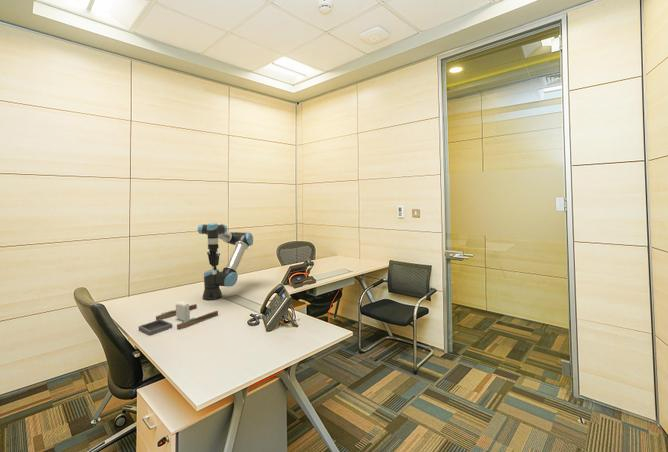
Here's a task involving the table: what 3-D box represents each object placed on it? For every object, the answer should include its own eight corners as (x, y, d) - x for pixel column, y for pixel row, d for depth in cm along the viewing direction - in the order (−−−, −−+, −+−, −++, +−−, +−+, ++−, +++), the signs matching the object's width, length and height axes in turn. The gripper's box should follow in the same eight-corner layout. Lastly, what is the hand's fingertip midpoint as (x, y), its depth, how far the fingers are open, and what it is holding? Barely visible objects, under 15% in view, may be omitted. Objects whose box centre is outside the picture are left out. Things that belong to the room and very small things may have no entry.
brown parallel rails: (155, 320, 220) (155, 315, 219) (195, 307, 244) (195, 303, 244) (178, 329, 204) (178, 324, 204) (218, 315, 229) (218, 310, 228)
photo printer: (175, 319, 222) (174, 301, 221) (180, 316, 226) (179, 299, 225) (185, 321, 218) (184, 303, 216) (190, 319, 221) (190, 301, 220)
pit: (138, 330, 204) (138, 326, 204) (160, 322, 216) (160, 319, 215) (150, 335, 196) (149, 331, 196) (172, 327, 208) (172, 323, 208)
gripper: (203, 243, 246) (204, 274, 248) (214, 245, 238) (215, 276, 241) (212, 242, 252) (213, 272, 254) (222, 243, 245) (223, 274, 247)
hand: (214, 274), depth 247 cm, fingers closed
